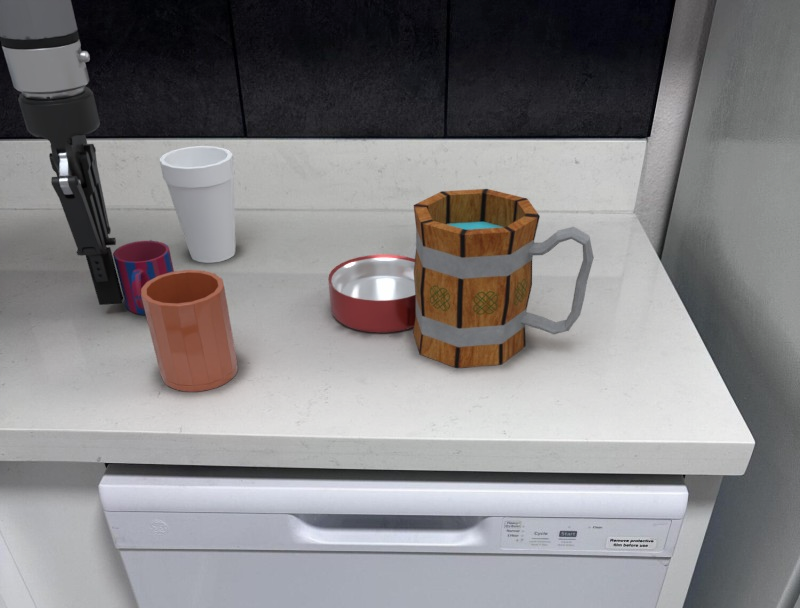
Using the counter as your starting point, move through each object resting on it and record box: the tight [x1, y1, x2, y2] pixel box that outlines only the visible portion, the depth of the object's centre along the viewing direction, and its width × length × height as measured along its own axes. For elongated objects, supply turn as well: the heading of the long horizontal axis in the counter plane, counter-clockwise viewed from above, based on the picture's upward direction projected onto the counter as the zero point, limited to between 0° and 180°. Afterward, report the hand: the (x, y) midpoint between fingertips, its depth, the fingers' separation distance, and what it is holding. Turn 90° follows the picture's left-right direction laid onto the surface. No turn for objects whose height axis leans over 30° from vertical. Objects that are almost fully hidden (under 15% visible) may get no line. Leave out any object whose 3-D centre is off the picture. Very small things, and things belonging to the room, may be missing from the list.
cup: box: [112, 240, 175, 316], centre depth 97 cm, size 7×10×7 cm
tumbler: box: [141, 269, 239, 393], centre depth 85 cm, size 8×8×10 cm
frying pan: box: [327, 243, 416, 334], centre depth 103 cm, size 32×13×6 cm, turn 163°
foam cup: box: [159, 145, 236, 264], centre depth 108 cm, size 10×9×13 cm
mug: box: [412, 188, 595, 369], centre depth 87 cm, size 20×14×15 cm
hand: (111, 301), depth 98 cm, fingers closed
